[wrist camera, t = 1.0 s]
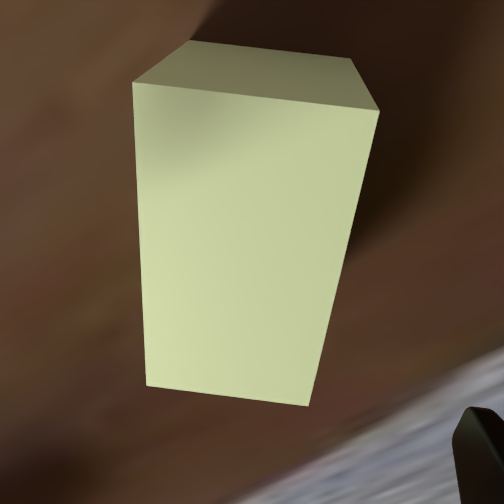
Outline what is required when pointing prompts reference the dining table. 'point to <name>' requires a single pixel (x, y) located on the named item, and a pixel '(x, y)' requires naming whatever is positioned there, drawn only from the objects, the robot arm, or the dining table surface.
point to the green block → (245, 213)
